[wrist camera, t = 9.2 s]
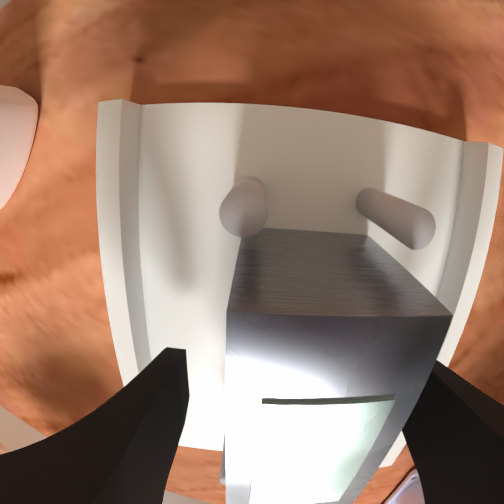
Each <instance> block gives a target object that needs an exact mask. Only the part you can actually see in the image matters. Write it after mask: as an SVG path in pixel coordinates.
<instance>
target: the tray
mask: <svg viewBox="0 0 504 504" xmlns="http://www.w3.org/2000/svg"><path fill="white" fill-rule="evenodd" d="M502 159H503V148H501V147H499V146H496V145H493V144H491V143H486V142H468V141H462V140H458V139H455V138H452V137H448V136H445V135H441V134H438V133H434V132H430V131H426V130H423V129H419V128H414V127H410V126H406V125H402V124H397V123H393V122H388V121H383V120H378V119H373V118H367V117H362V116H356V115H350V114H344V113H337V112H330V111H323V110H315V109H307V108H297V107H287V106H275V105H261V104H242V103H165V104H147V105H140V104H137V103H133V102H130V101H127V100H124V99H117V100H108V101H100V102H98V117H97V138H96V196H97V218H98V233H99V245H100V255H101V265H102V274H103V281H104V289H105V296H106V303H107V309H108V315H109V321H110V326H111V332H112V337H113V342H114V347H115V352H116V356H117V361H118V365H119V370H120V374H121V378H122V382H123V386H124V387H125V386H126V385H127V384H128V383H129V382H130V381H131V380H132V379H133V378H134V377H136V376H137V375H138V374H139V373H140V372H141V371H142V370H143V369H144V368H145V367H146V366H147V365H148V364H149V363H150V362H151V361H152V360H153V359H154V358H155V357H156V356H157V355H158V354H159V353H160V352H161V351H162V350H163V349H165V348H166V347H171V348H179V349H186V357H187V370H188V383H189V394H190V398H189V403H188V409H187V415H186V420H185V425H184V428H183V431H182V434H181V437H180V441H179V444H178V445H179V446H186V447H193V448H201V449H209V450H219V451H222V459H221V467H220V476H219V482H220V483H222V484H224V485H226V469H225V363H226V310H227V305H228V300H229V295H230V290H231V285H232V280H233V275H234V271H235V266H236V261H237V256H238V251H239V246H240V241H241V237H250V236H253V235H255V234H257V233H258V232H260V231H261V230H262V228H277V229H292V230H306V231H320V232H334V233H347V234H360V235H368V236H369V237H370V238H372V239H373V240H374V241H375V242H376V243H377V244H379V245H380V246H381V247H382V248H383V249H384V250H385V251H386V252H388V253H389V254H390V255H391V256H392V257H393V258H394V259H395V260H396V261H398V262H399V263H400V264H401V265H402V266H403V267H404V268H405V269H406V270H407V271H408V272H410V273H411V274H412V275H413V276H414V277H415V278H416V279H417V280H418V281H419V282H420V283H421V284H422V285H423V286H424V287H425V288H426V289H428V290H429V291H430V292H431V293H432V294H433V295H434V296H435V297H436V298H437V299H438V300H439V301H440V302H441V303H442V304H443V305H444V306H445V307H446V308H447V309H448V310H449V311H450V312H451V313H452V314H453V317H452V320H451V323H450V326H449V329H448V331H447V334H446V337H445V339H444V342H443V345H442V347H441V350H440V352H439V354H438V357H437V359H436V360H438V361H439V362H441V363H442V364H443V365H445V366H446V367H448V365H449V363H450V361H451V358H452V356H453V354H454V352H455V349H456V347H457V344H458V342H459V339H460V337H461V334H462V332H463V329H464V327H465V324H466V321H467V319H468V316H469V313H470V310H471V307H472V304H473V301H474V298H475V295H476V292H477V289H478V285H479V282H480V279H481V275H482V271H483V268H484V264H485V260H486V256H487V252H488V248H489V244H490V239H491V235H492V230H493V225H494V219H495V214H496V208H497V202H498V195H499V188H500V180H501V170H502ZM405 444H406V440H405V438H404V435H403V433H402V430H401V432H400V434H399V435H398V437H397V439H396V441H395V442H394V444H393V446H392V447H391V449H390V450H389V452H388V454H387V455H386V457H385V458H384V460H383V461H382V463H381V465H380V466H379V468H380V467H386V466H391V465H392V464H393V462H394V461H395V459H396V458H397V456H398V455H399V453H400V452H401V450H402V449H403V447H404V446H405Z"/></svg>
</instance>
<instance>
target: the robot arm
mask: <svg viewBox="0 0 504 504" xmlns="http://www.w3.org/2000/svg"><path fill="white" fill-rule="evenodd" d="M189 398H190V394H189V383H188V370H187V357H186V349H179V348H171V347H166V348H165V349H163V350H162V351H161V352H160V353H159V354H158V355H157V356H156V357H155V358H154V359H153V360H152V361H151V362H150V363H149V364H148V365H147V366H146V367H145V368H144V369H143V370H142V371H141V372H140V373H139V374H138V375H137V376H136V377H134V378H133V379H132V380H131V381H130V382H129V383H128V384H127V385H126V386H125V387H123V388H122V389H121V390H120V391H119V392H117V393H116V394H115V395H114V396H112V397H111V398H110V399H109V400H107V401H106V402H105V403H104V404H102V405H101V406H100V407H98V408H97V409H96V410H94V411H93V412H91V413H90V414H88V415H87V416H85V417H84V418H82V419H81V420H79V421H78V422H76V423H74V424H73V425H71V426H69V427H67V428H65V429H63V430H62V431H60V432H58V433H56V434H54V435H52V436H50V437H48V438H46V439H44V440H41V441H39V442H36V443H34V444H31V445H29V446H27V447H24V448H21V449H18V450H15V451H12V452H8V453H5V454H1V455H0V504H162V501H163V496H164V490H165V486H166V482H167V479H168V475H169V472H170V469H171V466H172V463H173V460H174V456H175V453H176V450H177V447H178V444H179V441H180V437H181V434H182V431H183V428H184V425H185V420H186V415H187V409H188V403H189ZM402 433H403V435H404V438H405V440H406V443H407V446H408V448H409V451H410V453H411V456H412V459H413V461H414V464H415V466H416V469H414V470H413V471H411V472H410V474H409V475H408V476H407V477H406V478H405V480H404V481H403V482H402V483H401V484H400V486H399V487H398V488H397V489H396V490H395V491H394V493H393V494H392V495H391V496H390V497H389V498H388V499H387V500H386V502H385V503H384V504H504V405H502V404H500V403H499V402H497V401H495V400H494V399H492V398H491V397H489V396H488V395H486V394H484V393H483V392H481V391H480V390H478V389H477V388H476V387H474V386H473V385H471V384H470V383H469V382H467V381H466V380H464V379H463V378H462V377H460V376H459V375H457V374H456V373H455V372H453V371H452V370H450V369H449V368H448V367H446V366H445V365H443V364H442V363H441V362H439V361H438V360H436V362H435V364H434V366H433V369H432V371H431V373H430V375H429V378H428V380H427V382H426V384H425V386H424V388H423V390H422V392H421V394H420V396H419V398H418V400H417V402H416V404H415V406H414V408H413V410H412V412H411V414H410V416H409V418H408V420H407V421H406V423H405V425H404V427H403V429H402Z"/></svg>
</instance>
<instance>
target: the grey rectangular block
mask: <svg viewBox="0 0 504 504" xmlns="http://www.w3.org/2000/svg"><path fill="white" fill-rule="evenodd" d="M452 317H453V314H452V313H451V312H450V311H449V310H448V309H447V308H446V307H445V306H444V305H443V304H442V303H441V302H440V301H439V300H438V299H437V298H436V297H435V296H434V295H433V294H432V293H431V292H430V291H429V290H428V289H426V288H425V287H424V286H423V285H422V284H421V283H420V282H419V281H418V280H417V279H416V278H415V277H414V276H413V275H412V274H411V273H410V272H408V271H407V270H406V269H405V268H404V267H403V266H402V265H401V264H400V263H399V262H398V261H396V260H395V259H394V258H393V257H392V256H391V255H390V254H389V253H388V252H386V251H385V250H384V249H383V248H382V247H381V246H380V245H379V244H377V243H376V242H375V241H374V240H373V239H372V238H370V237H369V236H368V235H360V234H347V233H334V232H320V231H306V230H292V229H277V228H262V230H261V231H260V232H258V233H257V234H255V235H253V236H250V237H241V241H240V246H239V251H238V256H237V261H236V266H235V271H234V275H233V280H232V285H231V290H230V295H229V300H228V305H227V310H226V363H225V469H226V504H353V502H354V501H355V500H356V498H357V497H358V496H359V494H360V493H361V492H362V490H363V489H364V488H365V486H366V485H367V483H368V482H369V481H370V479H371V478H372V476H373V475H374V473H375V472H376V471H377V469H378V468H379V466H380V465H381V463H382V461H383V460H384V458H385V457H386V455H387V454H388V452H389V450H390V449H391V447H392V446H393V444H394V442H395V441H396V439H397V437H398V435H399V434H400V432H401V430H402V429H403V427H404V425H405V423H406V421H407V420H408V418H409V416H410V414H411V412H412V410H413V408H414V406H415V404H416V402H417V400H418V398H419V396H420V394H421V392H422V390H423V388H424V386H425V384H426V382H427V380H428V378H429V375H430V373H431V371H432V369H433V366H434V364H435V362H436V359H437V357H438V354H439V352H440V350H441V347H442V345H443V342H444V339H445V337H446V334H447V331H448V329H449V326H450V323H451V320H452Z"/></svg>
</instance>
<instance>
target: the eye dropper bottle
mask: <svg viewBox="0 0 504 504" xmlns="http://www.w3.org/2000/svg"><path fill="white" fill-rule="evenodd" d="M37 120H38V105H37V103H36V101H35V100H34V98H32V97H31V96H30V95H28V94H27V93H25V92H23V91H22V90H20V89H19V88H17V87H11V86H3V85H0V209H2V208H3V207H4V205H5V204H6V203H7V202H8V200H9V199H10V197H11V196H12V194H13V193H14V191H15V189H16V187H17V185H18V183H19V181H20V179H21V177H22V175H23V172H24V170H25V167H26V164H27V161H28V158H29V155H30V152H31V148H32V144H33V140H34V136H35V131H36V126H37Z"/></svg>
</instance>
